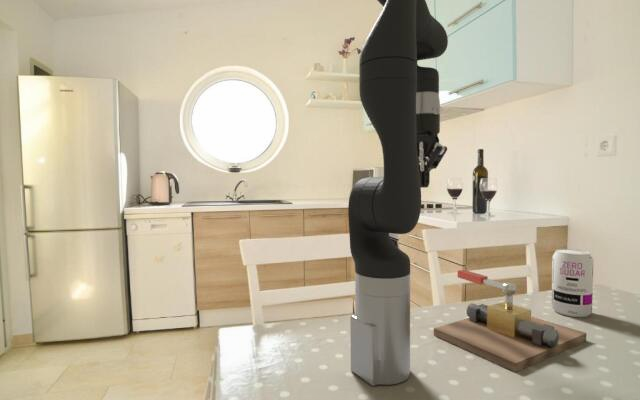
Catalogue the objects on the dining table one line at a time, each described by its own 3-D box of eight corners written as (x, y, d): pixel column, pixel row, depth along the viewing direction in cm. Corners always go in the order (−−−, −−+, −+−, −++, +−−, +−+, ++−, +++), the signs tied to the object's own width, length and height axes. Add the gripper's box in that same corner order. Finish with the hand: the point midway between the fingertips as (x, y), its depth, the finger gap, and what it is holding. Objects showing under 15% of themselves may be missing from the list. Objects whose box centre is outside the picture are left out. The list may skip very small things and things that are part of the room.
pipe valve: (545, 355, 68) (546, 308, 68) (462, 324, 84) (463, 285, 83) (562, 348, 71) (563, 302, 71) (479, 319, 87) (479, 281, 86)
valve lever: (519, 292, 76) (519, 285, 76) (509, 294, 75) (510, 286, 75) (465, 276, 90) (465, 269, 90) (456, 277, 89) (456, 270, 89)
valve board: (515, 372, 64) (515, 363, 64) (433, 335, 79) (433, 328, 79) (586, 340, 76) (586, 333, 76) (503, 313, 91) (503, 307, 91)
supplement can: (578, 307, 96) (580, 248, 95) (599, 318, 87) (601, 255, 87) (545, 306, 96) (546, 248, 96) (562, 317, 88) (564, 254, 88)
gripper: (392, 117, 93) (392, 187, 94) (433, 108, 81) (433, 188, 82) (414, 119, 97) (414, 187, 97) (456, 111, 85) (456, 187, 86)
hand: (423, 187), depth 90 cm, fingers closed
